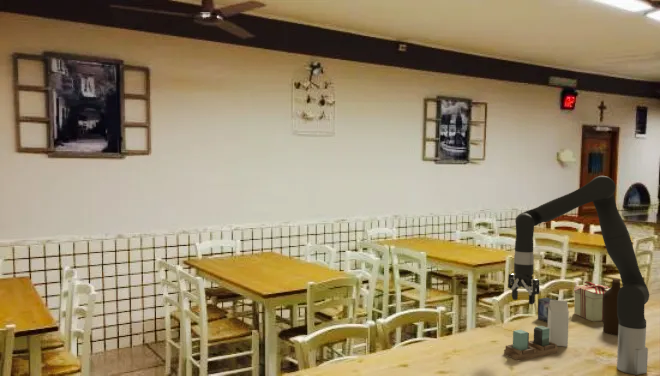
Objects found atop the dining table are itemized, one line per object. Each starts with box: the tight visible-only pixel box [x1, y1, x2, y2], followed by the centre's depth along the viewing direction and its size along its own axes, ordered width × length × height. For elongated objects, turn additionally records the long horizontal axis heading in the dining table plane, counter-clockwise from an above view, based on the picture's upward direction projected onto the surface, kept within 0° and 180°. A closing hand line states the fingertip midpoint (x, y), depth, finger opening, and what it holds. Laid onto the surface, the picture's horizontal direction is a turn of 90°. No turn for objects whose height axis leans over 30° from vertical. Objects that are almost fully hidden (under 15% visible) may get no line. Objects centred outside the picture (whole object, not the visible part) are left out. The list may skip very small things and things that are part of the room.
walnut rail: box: [503, 325, 559, 361], centre depth 230 cm, size 8×22×10 cm, turn 117°
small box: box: [537, 297, 554, 323], centre depth 277 cm, size 11×6×10 cm, turn 25°
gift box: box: [573, 281, 611, 322], centre depth 284 cm, size 17×18×17 cm
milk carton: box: [547, 299, 570, 348], centre depth 242 cm, size 7×7×19 cm
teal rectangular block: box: [512, 329, 530, 351], centre depth 227 cm, size 4×5×8 cm
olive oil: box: [602, 278, 621, 336], centre depth 259 cm, size 11×11×25 cm
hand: (523, 301), depth 228 cm, fingers open, 8 cm apart
